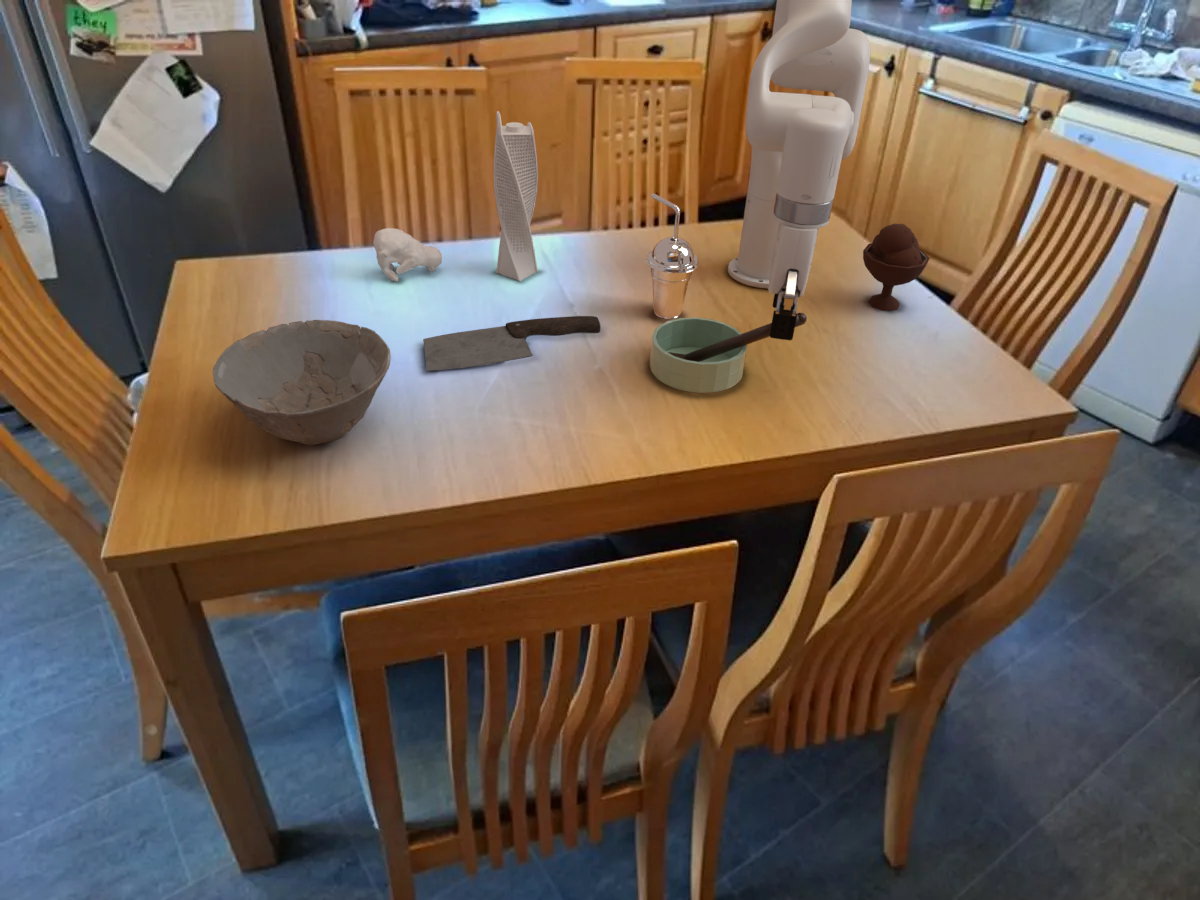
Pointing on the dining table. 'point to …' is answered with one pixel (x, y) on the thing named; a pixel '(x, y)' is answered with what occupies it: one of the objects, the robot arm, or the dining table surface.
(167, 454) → the dining table surface
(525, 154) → the skyscraper
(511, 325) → the cleaver
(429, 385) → the dining table surface
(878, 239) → the ice cream bowl
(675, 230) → the cup with straw
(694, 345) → the bowl
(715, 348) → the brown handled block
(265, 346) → the ceramic bowl
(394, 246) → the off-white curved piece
